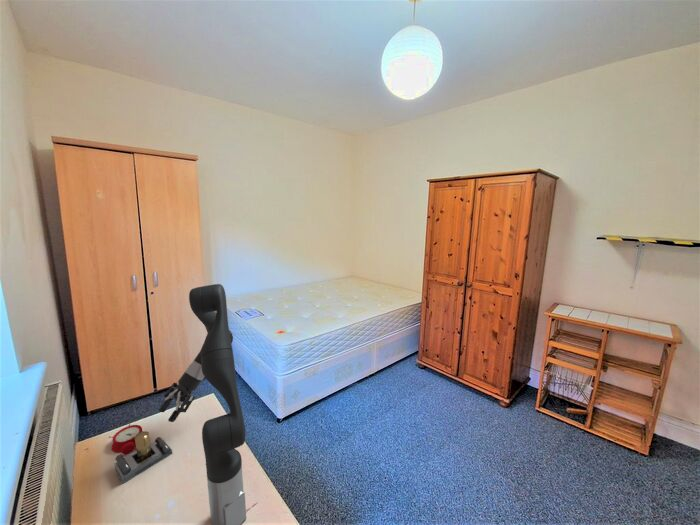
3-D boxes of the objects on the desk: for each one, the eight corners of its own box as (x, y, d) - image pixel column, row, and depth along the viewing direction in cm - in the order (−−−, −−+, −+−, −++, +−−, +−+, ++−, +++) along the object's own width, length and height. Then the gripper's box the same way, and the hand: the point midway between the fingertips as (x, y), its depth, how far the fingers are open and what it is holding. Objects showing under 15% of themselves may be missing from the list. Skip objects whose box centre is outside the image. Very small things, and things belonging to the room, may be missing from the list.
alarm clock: (132, 420, 118) (153, 424, 112) (136, 434, 119) (157, 439, 112) (102, 438, 109) (123, 443, 102) (107, 453, 109) (128, 459, 103)
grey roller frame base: (172, 454, 106) (171, 442, 105) (123, 484, 94) (121, 471, 93) (163, 442, 111) (161, 431, 110) (114, 470, 99) (112, 458, 98)
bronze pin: (153, 460, 103) (150, 434, 101) (140, 468, 100) (137, 441, 98) (149, 455, 106) (146, 429, 104) (136, 462, 102) (133, 436, 100)
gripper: (178, 366, 115) (149, 406, 108) (195, 378, 107) (165, 422, 100) (193, 372, 120) (166, 410, 113) (210, 384, 112) (182, 426, 105)
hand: (165, 416), depth 107 cm, fingers open, 8 cm apart
